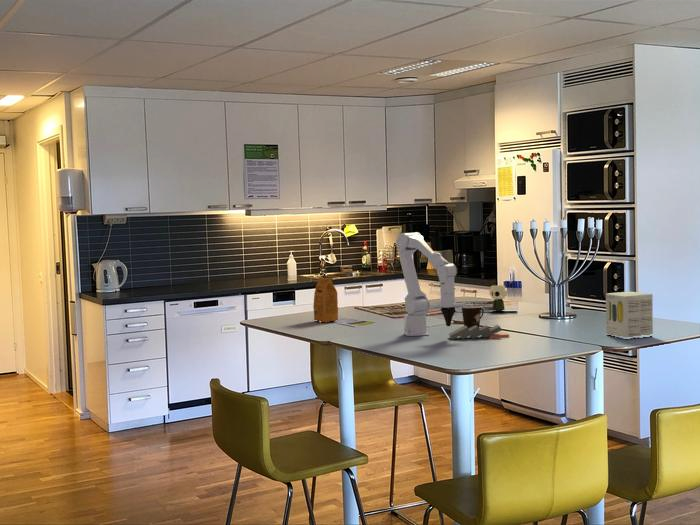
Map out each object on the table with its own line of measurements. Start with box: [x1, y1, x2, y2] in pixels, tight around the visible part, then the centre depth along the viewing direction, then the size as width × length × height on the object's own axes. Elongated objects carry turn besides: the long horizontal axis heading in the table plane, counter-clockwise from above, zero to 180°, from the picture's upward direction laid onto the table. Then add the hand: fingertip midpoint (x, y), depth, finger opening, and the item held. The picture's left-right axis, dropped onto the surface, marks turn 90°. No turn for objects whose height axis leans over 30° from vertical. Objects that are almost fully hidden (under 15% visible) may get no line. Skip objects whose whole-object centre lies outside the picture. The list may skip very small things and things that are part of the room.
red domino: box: [487, 332, 510, 339], centre depth 349 cm, size 2×5×8 cm
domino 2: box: [469, 325, 490, 340], centre depth 348 cm, size 2×5×8 cm
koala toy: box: [489, 285, 508, 312], centre depth 427 cm, size 11×7×13 cm, turn 42°
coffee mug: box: [461, 305, 485, 329], centre depth 371 cm, size 12×9×10 cm
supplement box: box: [605, 291, 654, 337], centre depth 339 cm, size 13×13×18 cm
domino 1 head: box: [448, 325, 469, 340], centre depth 347 cm, size 2×5×8 cm
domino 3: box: [480, 324, 502, 339], centre depth 348 cm, size 2×5×8 cm
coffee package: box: [312, 275, 339, 323], centre depth 409 cm, size 10×12×22 cm
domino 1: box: [459, 325, 480, 340], centre depth 347 cm, size 2×5×8 cm
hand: (448, 325), depth 347 cm, fingers closed
